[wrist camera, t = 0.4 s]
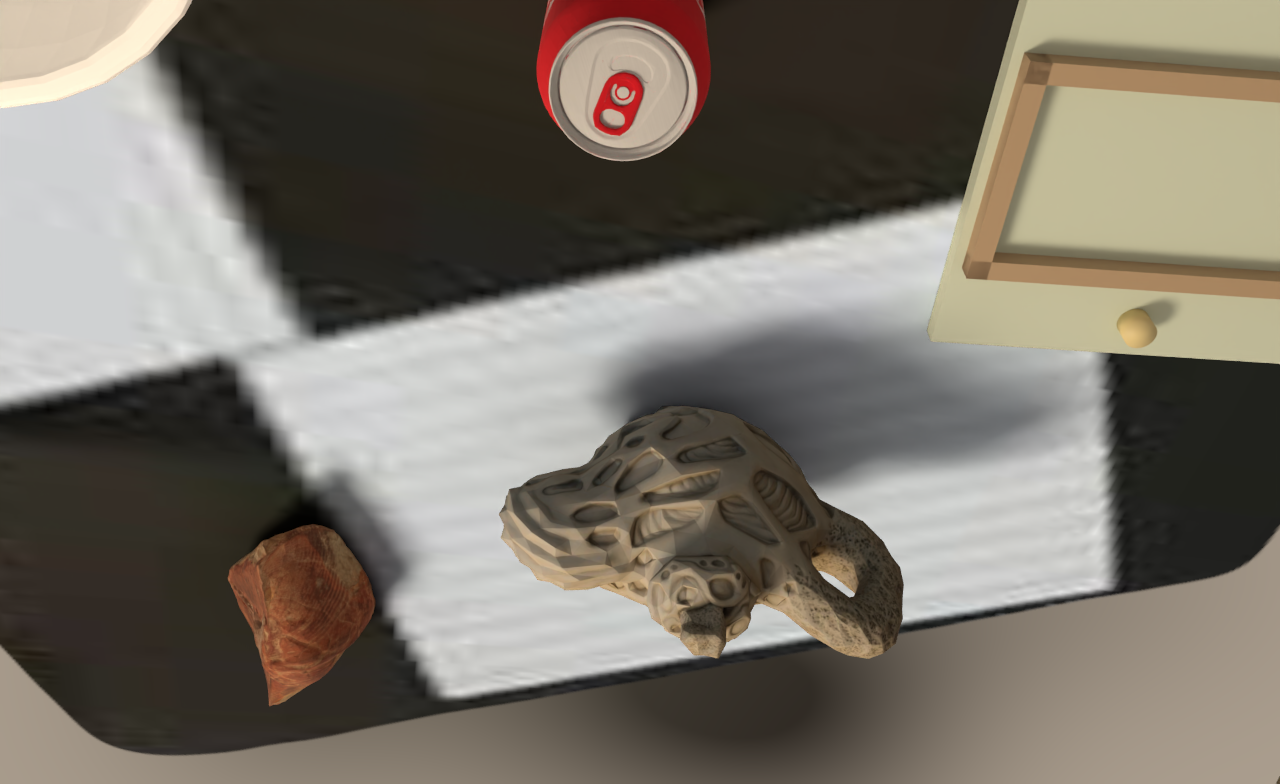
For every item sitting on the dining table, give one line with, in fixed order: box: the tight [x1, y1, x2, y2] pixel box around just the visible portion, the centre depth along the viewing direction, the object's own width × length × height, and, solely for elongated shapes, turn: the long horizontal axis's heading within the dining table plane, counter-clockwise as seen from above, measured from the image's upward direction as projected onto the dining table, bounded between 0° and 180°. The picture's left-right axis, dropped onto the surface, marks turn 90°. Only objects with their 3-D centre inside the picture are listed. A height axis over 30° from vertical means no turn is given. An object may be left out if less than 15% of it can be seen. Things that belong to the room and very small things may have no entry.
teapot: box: [499, 406, 904, 659], centre depth 60 cm, size 21×12×15 cm, turn 78°
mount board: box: [927, 0, 1280, 364], centre depth 55 cm, size 20×20×2 cm
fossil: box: [228, 524, 375, 706], centre depth 70 cm, size 13×8×10 cm
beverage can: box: [537, 0, 711, 161], centre depth 45 cm, size 6×6×12 cm
